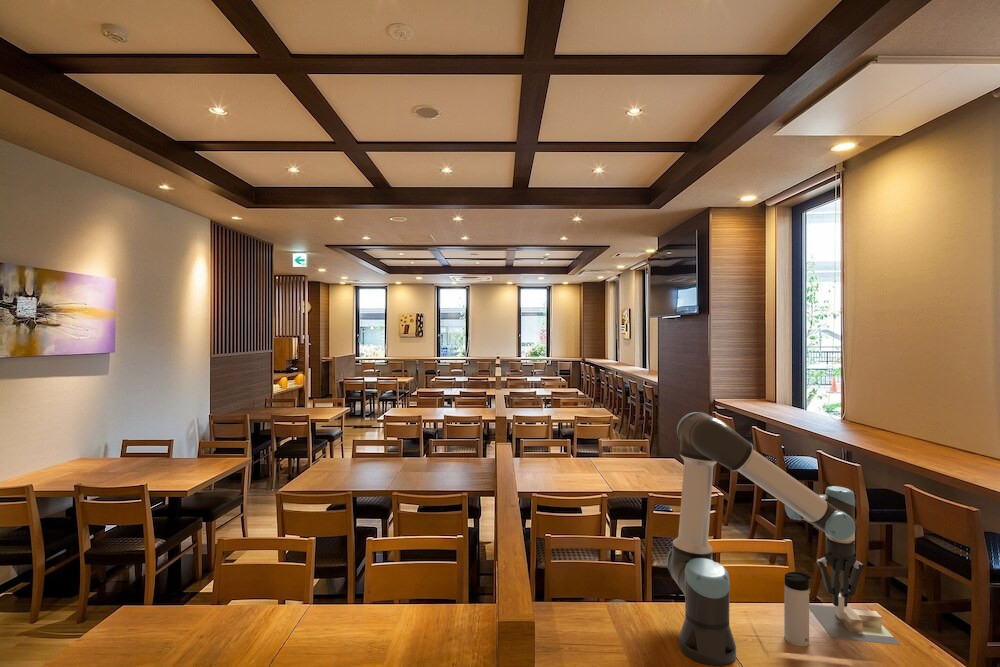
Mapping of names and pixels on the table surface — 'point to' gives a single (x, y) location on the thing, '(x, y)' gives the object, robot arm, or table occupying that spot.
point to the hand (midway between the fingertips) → (839, 616)
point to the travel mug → (796, 608)
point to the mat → (841, 632)
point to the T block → (860, 619)
